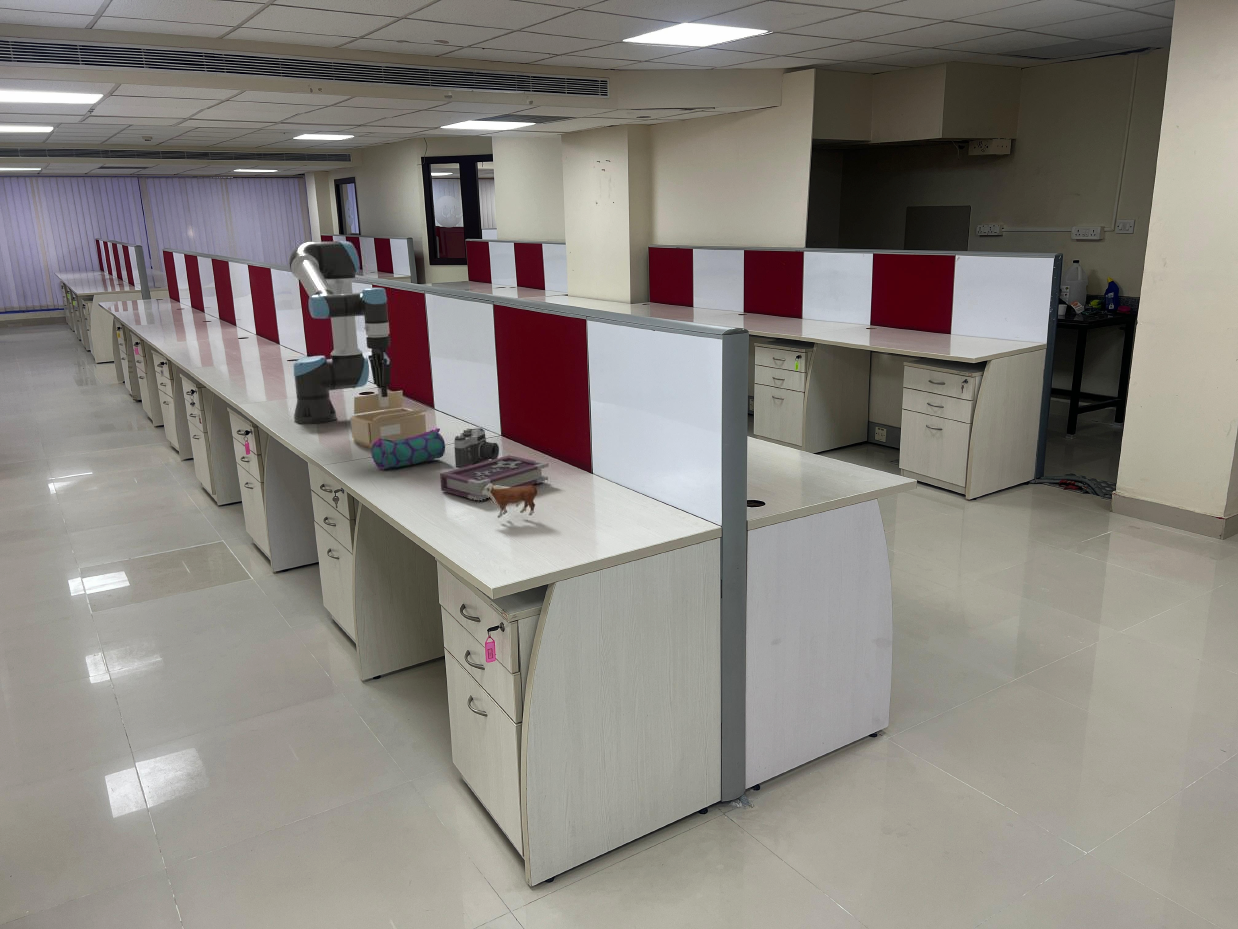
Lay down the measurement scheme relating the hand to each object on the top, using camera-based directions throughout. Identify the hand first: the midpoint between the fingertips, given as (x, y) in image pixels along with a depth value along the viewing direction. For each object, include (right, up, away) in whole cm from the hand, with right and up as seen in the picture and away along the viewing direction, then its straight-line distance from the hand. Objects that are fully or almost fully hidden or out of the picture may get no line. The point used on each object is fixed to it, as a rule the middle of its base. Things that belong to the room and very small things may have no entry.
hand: (384, 406), depth 297 cm
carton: (+2, -12, +1) cm, 12 cm away
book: (+45, -26, -52) cm, 73 cm away
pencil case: (+16, -20, -28) cm, 38 cm away
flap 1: (-3, -1, +4) cm, 5 cm away
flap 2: (+6, -4, -7) cm, 10 cm away
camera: (+37, -19, -29) cm, 50 cm away
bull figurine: (+52, -32, -79) cm, 100 cm away
